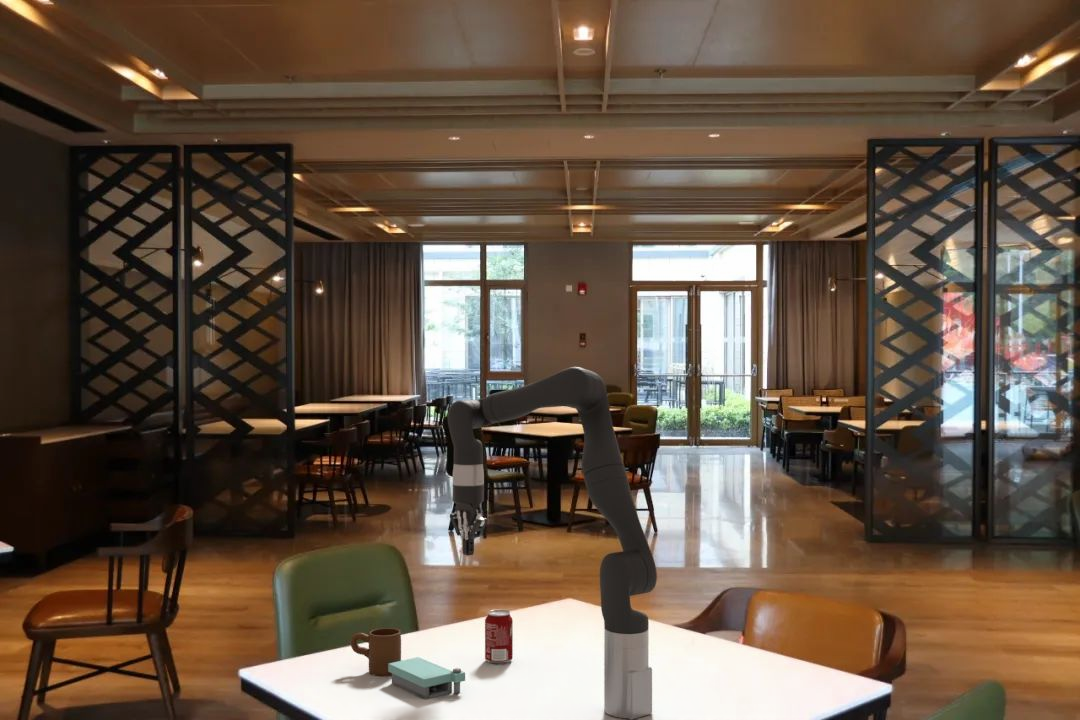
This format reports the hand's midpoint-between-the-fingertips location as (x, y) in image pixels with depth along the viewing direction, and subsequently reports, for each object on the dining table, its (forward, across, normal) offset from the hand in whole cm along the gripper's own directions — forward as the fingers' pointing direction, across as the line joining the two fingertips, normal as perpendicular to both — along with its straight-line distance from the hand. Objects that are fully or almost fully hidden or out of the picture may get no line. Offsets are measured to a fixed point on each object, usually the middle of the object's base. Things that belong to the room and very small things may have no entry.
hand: (468, 554), depth 233 cm
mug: (+27, +11, +19) cm, 35 cm away
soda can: (+27, -1, -9) cm, 29 cm away
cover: (+24, -7, +16) cm, 30 cm away
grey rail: (+27, -7, +16) cm, 32 cm away
